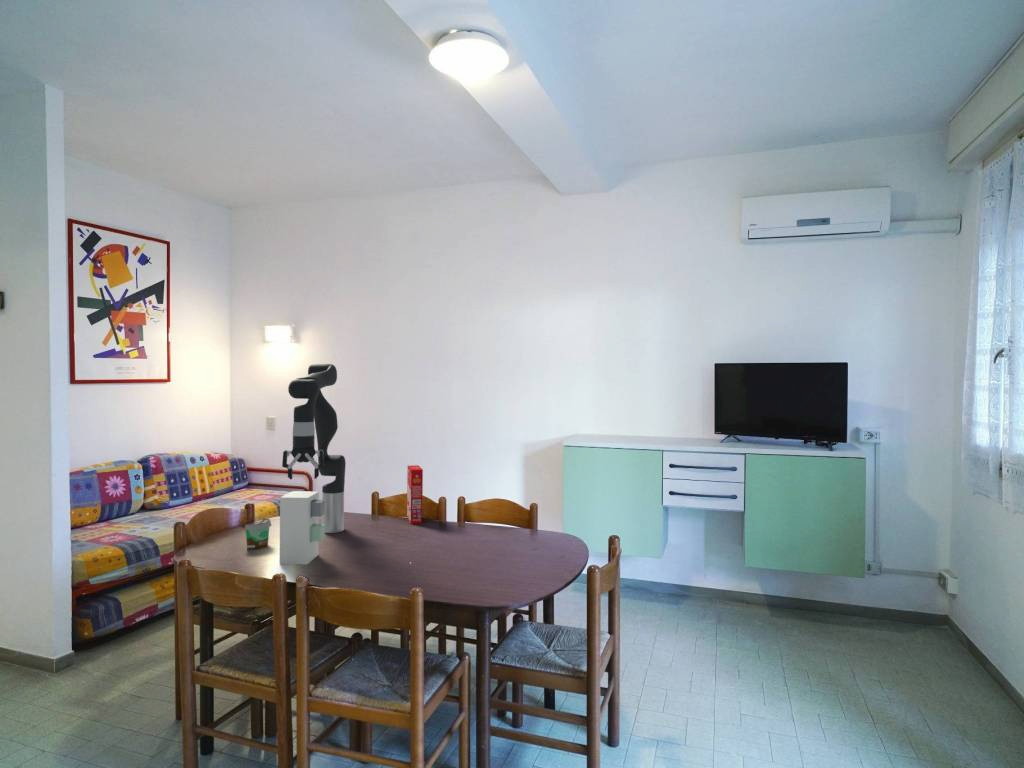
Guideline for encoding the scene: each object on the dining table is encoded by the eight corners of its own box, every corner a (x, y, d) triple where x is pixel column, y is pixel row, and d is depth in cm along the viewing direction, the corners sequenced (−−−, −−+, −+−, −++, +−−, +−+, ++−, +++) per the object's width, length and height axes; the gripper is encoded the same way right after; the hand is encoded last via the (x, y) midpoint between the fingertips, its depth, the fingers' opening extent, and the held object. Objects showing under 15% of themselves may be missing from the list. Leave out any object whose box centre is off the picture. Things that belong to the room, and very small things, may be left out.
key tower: (291, 554, 231) (292, 491, 230) (318, 554, 231) (318, 491, 230) (279, 564, 219) (280, 497, 218) (307, 564, 219) (307, 497, 218)
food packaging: (422, 523, 283) (422, 469, 282) (410, 524, 281) (411, 470, 281) (417, 516, 297) (418, 465, 296) (406, 517, 295) (407, 465, 295)
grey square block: (308, 513, 227) (308, 499, 227) (324, 513, 227) (325, 500, 227) (304, 516, 222) (304, 502, 222) (320, 516, 222) (320, 502, 222)
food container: (258, 551, 234) (259, 525, 234) (244, 550, 235) (244, 524, 235) (277, 543, 246) (277, 518, 246) (263, 542, 247) (264, 517, 247)
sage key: (308, 537, 227) (308, 524, 227) (324, 537, 227) (324, 524, 227) (303, 540, 222) (304, 527, 222) (320, 541, 222) (320, 527, 222)
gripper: (325, 433, 226) (324, 476, 226) (284, 433, 223) (284, 477, 223) (323, 435, 219) (322, 480, 219) (281, 435, 216) (280, 481, 216)
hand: (303, 478), depth 221 cm, fingers open, 8 cm apart
